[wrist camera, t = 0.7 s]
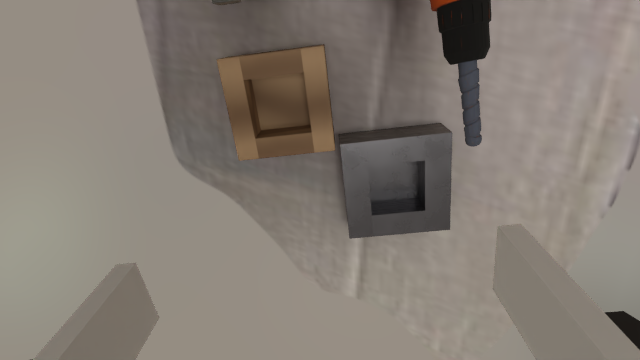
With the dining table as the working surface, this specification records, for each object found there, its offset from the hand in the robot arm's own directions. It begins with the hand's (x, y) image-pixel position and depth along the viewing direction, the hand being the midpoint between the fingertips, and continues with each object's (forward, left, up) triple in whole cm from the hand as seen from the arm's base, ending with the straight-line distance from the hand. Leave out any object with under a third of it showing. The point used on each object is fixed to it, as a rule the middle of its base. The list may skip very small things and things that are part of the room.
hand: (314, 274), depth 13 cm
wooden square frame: (-3, -4, -24) cm, 24 cm away
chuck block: (+6, +6, -24) cm, 25 cm away
